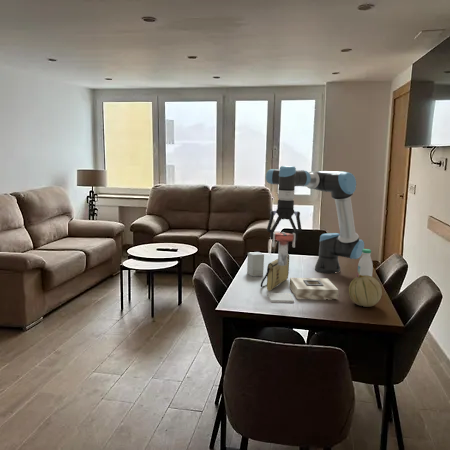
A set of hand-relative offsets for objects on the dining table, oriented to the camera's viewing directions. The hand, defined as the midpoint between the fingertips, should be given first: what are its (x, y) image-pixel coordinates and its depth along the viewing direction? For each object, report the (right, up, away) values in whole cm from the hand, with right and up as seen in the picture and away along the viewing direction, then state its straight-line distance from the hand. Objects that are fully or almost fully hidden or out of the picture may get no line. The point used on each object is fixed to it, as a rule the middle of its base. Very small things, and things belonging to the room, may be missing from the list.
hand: (283, 246), depth 205 cm
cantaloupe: (+37, -28, -2) cm, 47 cm away
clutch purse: (-1, -22, +27) cm, 35 cm away
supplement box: (-10, -19, +46) cm, 51 cm away
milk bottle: (+48, -23, +32) cm, 62 cm away
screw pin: (0, -9, +1) cm, 9 cm away
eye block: (+17, -24, +15) cm, 33 cm away
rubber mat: (-1, -25, +4) cm, 26 cm away
